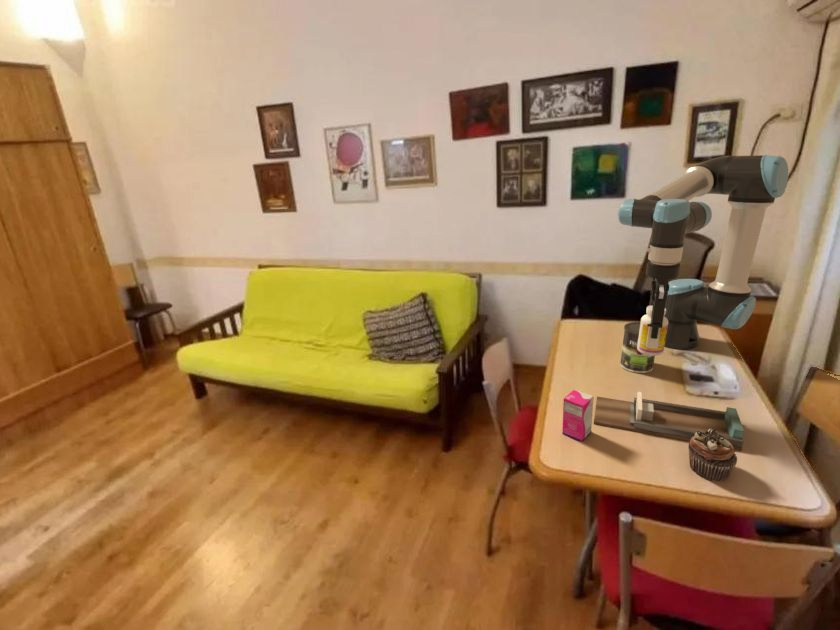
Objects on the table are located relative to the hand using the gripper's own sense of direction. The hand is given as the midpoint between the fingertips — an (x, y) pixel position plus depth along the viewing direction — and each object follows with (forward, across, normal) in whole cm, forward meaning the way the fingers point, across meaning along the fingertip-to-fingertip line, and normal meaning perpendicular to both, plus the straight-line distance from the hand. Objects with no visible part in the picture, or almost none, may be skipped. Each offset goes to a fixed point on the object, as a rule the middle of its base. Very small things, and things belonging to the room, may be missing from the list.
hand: (651, 342), depth 121 cm
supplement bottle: (+3, 0, 0) cm, 3 cm away
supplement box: (+21, +20, -16) cm, 33 cm away
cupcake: (+20, +24, +14) cm, 34 cm away
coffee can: (+20, -23, -1) cm, 30 cm away
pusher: (+19, +8, 0) cm, 21 cm away
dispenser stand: (+20, +8, +6) cm, 22 cm away
